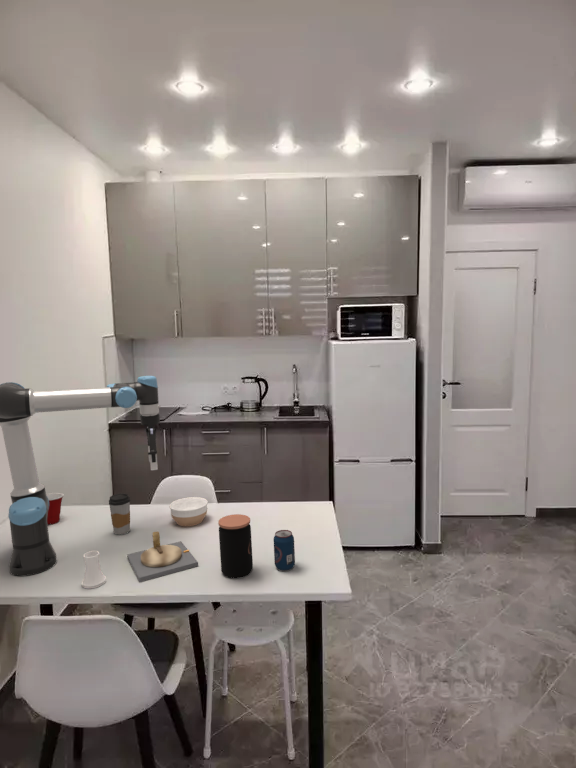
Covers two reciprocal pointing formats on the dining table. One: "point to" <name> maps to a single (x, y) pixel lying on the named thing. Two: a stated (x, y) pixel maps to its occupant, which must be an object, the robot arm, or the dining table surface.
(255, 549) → the dining table surface
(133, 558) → the dial base
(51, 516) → the plastic cup
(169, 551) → the dial
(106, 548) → the dining table surface
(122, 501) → the coffee cup
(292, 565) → the soda can
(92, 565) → the vase
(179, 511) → the bowl
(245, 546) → the coffee jar
